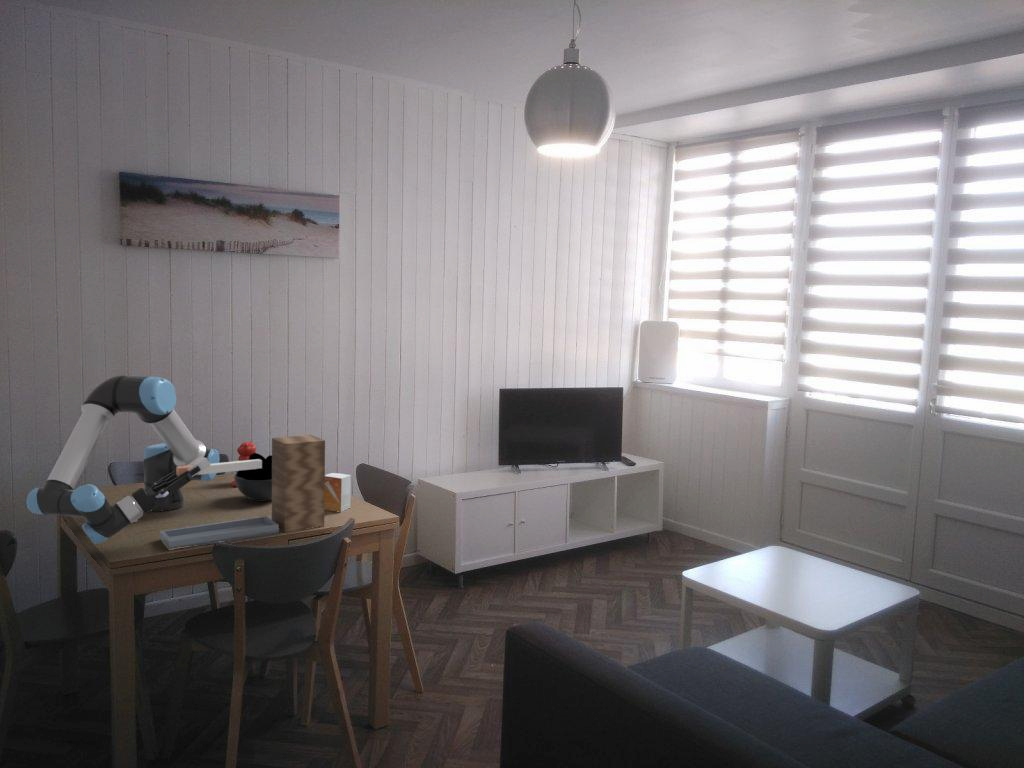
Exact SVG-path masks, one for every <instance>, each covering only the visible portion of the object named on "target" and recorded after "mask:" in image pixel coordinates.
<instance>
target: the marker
mask: <svg viewBox="0 0 1024 768" xmlns="http://www.w3.org/2000/svg"><path fill="white" fill-rule="evenodd" d="M192 466H193V465H189V466H179V467H176V475H177V476H179V475H181V474H183V473H184V472H186V471H188V470H187V469H189V468H190V467H192ZM259 468H262V460H260V459H254V460H244V461H237V460H234V461H227V462H226V461H224V462H219V463H213V464H211V465H210V466H208V467H207V468H205V469H204V470H202V471H201V472H199V473H198V474H196V475H201V474H211V473H217V474H218V473H228V472H236V471H240V470H249V469H259Z"/></svg>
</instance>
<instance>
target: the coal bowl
mask: <svg viewBox="0 0 1024 768" xmlns="http://www.w3.org/2000/svg"><path fill="white" fill-rule="evenodd" d="M254 459H260V460H262V468H259V469H249V470H240V471H238V472H237V474H236V473H235V474H234V476H233V477H234V481H235V483H236V485H237V487H236V488H237V489H238V490H239V492H240V493H241V494H242V495H243V496H245V497H246V498H248V499H250V500H252V501H257V502H266V501H269V500H272V454H271V455H270V454H269V455H268V456H266V457H265V456H263V455H262V454H259V453H256V452H255V453H253V454H252V455H250V457H249V459H248V460H254Z"/></svg>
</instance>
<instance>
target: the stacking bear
mask: <svg viewBox="0 0 1024 768" xmlns="http://www.w3.org/2000/svg"><path fill="white" fill-rule="evenodd" d="M256 450H257V447H256V444H255V443H253V442H252V441H251V440H249V441H245V442H242V443H241V444H240V446H238V447H237V448H236V451H237V453H238V454H239V456H238V457H237V460H236V461H244V460H248V459H249V457H250V455H252V454H253V453H256V452H257V451H256ZM237 472H238V471H235V474H237ZM230 486H231V487H233V486H237V485H236V483H235V480H233V481H232V482H231V483H230Z"/></svg>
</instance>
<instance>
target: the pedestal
mask: <svg viewBox="0 0 1024 768" xmlns="http://www.w3.org/2000/svg"><path fill="white" fill-rule="evenodd" d="M271 456H272V499H271V520H272V521H274V522H275V523H277V524H278V525H279V530H280V531H282V532H283V533H290V531H291V532H296V531H297V530H298V531H303V530H302V529H304V530H308V529H307V528H310V529H313V528H312V527H316V528H320V527H319V526H323V527H325V510H324V500H325V475H326V473H325V472H326V469H325V468H326V440H324V439H322V438H320V437H317V436H314V435H313V434H308V435H307V434H306V435H294V436H281V437H272V438H271Z"/></svg>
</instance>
